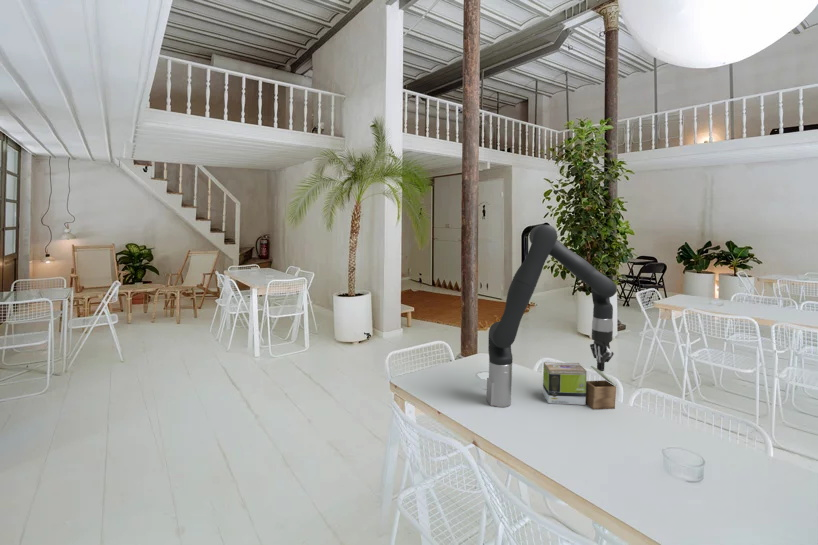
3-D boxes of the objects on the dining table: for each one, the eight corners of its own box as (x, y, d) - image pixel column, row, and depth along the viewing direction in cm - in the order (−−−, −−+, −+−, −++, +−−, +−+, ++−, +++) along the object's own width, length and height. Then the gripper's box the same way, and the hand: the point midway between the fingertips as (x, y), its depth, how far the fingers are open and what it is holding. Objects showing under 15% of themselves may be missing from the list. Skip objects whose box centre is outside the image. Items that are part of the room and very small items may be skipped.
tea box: (578, 395, 175) (579, 362, 173) (585, 405, 165) (587, 370, 163) (542, 394, 176) (543, 361, 175) (547, 404, 166) (549, 368, 165)
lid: (600, 372, 160) (601, 371, 160) (590, 366, 167) (591, 365, 167) (616, 386, 161) (617, 385, 161) (605, 379, 168) (606, 378, 168)
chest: (593, 409, 161) (594, 387, 160) (584, 402, 168) (585, 381, 167) (614, 408, 162) (616, 386, 161) (604, 401, 169) (605, 380, 168)
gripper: (584, 325, 168) (582, 365, 170) (603, 333, 155) (601, 377, 157) (601, 324, 169) (599, 364, 171) (621, 332, 156) (619, 376, 158)
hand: (600, 370), depth 164 cm, fingers closed
